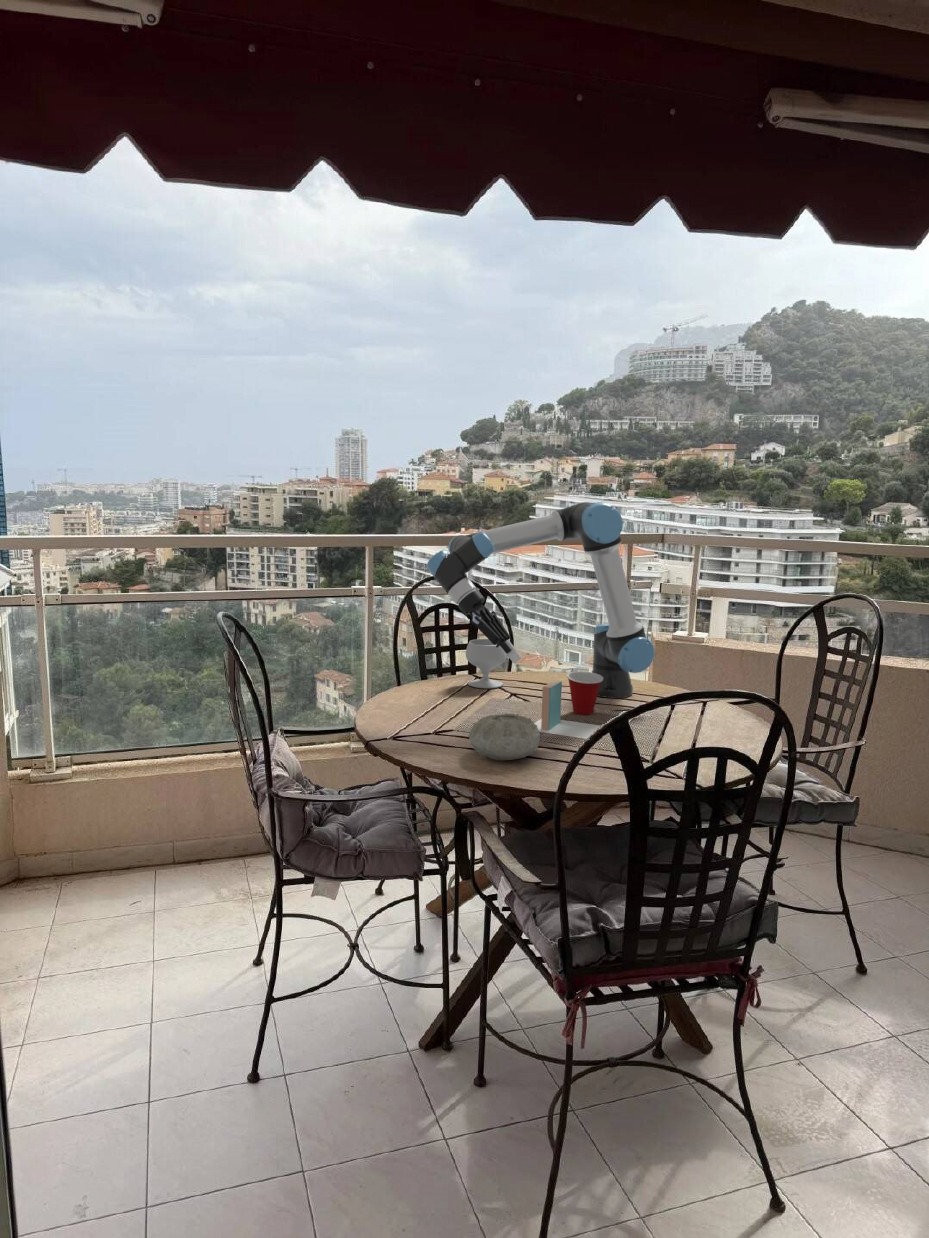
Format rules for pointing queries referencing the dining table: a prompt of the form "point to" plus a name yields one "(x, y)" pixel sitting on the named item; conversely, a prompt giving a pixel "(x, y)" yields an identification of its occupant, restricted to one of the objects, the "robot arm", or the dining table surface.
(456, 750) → the dining table surface
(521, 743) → the grey rounded stone
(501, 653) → the chalice
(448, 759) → the dining table surface
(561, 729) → the mat
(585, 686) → the plastic cup
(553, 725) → the tan flat block
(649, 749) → the dining table surface
